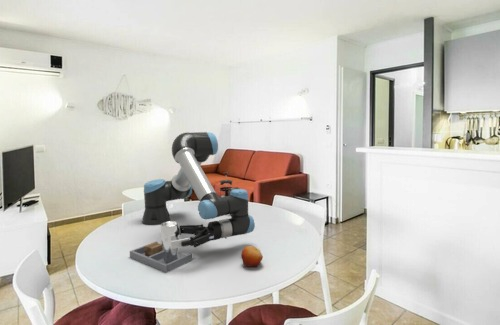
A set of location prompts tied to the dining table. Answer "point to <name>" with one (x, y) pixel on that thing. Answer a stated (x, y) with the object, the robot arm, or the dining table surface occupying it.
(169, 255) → the beer glass
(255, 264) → the fruit
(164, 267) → the tray
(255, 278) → the dining table surface
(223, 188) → the french press
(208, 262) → the dining table surface
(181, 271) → the dining table surface
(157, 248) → the walnut block
